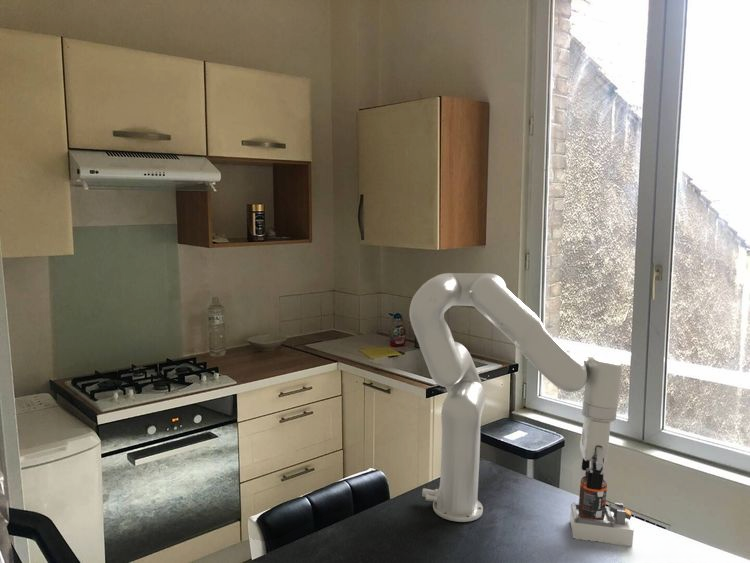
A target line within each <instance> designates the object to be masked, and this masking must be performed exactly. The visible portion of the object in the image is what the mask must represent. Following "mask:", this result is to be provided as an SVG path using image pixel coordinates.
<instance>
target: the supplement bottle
mask: <svg viewBox="0 0 750 563" xmlns="http://www.w3.org/2000/svg"><path fill="white" fill-rule="evenodd" d="M588 471H590V468H587V469H586V471H585V473H584V475H583V477H582V478H581V479H580V486H579V487H580V488H579V499H578V503H579V514H580V516H581V517H583V518H588V519H595V520H602V519H604V515H605V506H606V502H607V491H608V489H607V488H608V484H607V483H608V482H607V481H606V480H605V479H604V478H603V479H602V487H601V490H595V489H588V488H587V486H586V485H587V477H588ZM603 476H605V475H604V472H603Z"/></svg>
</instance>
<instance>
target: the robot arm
mask: <svg viewBox="0 0 750 563" xmlns="http://www.w3.org/2000/svg"><path fill="white" fill-rule="evenodd" d="M452 306H455V307H456V306H462V307H467V306H468V307H469V306H470V307H474V308H475V309H476V310H477V311H478V312H479V313H480V314H481V315H482V316H484V317H485V318H486V319H487V320H488V321H489V322H491V324H492V325H493V326H494V327H496V328H497V329H498V330H499V331H501V333H502V334H503V335H505V337H507V338H508V340H510V341H511V342H512V343H513V344H514V346H515V347H516V349H518V351H520V352H521V354H522V355H523V356H524V357H525V358H526V360H528V361H529V363H530V364H531V365H532V366H533V367H534V368H535V369H536V370H537V371H538V372H539V373H540V374H542V375H543V377H545V378H546V379H547V380H548V381H549V382H550V383H551V384H552V385H553V386H555V387H556V388H558V389H559V390H561V391H563V392H566V393H576V392H578V391H581V390H582V389H583V388H584V392H583V400H582V408H581V409H582V410H581V415H582V416H583V424H582V430H581V435H580V442H579V448H580V449H579V450H580V453H581V456H582V462H581V470H582V471H584V472H586V469H587V468H590V471H588V477H587V485H586V486H587V488H588V489H595V490H601V487H602V479H604V475H603V473H604V464H605V463H606V462H607V458H608V451H609V444H610V434H611V433H610V432H611V424H612V423H613V422H615V421H616V420H617V414H618V413H617V412H618V403H619V396H620V388H621V383H622V382H621V380H622V373H623V366H622V363H621V362H620V361H619V360H617V359H616V358H612V357H607V356H593V355H589V354H585V353H581V352H578V351H573V350H565V349H564V348H563V347H561V346H560V345H559V344H558V343H557V342H556V340H554V339H553V337H552V336H551V335H550V333H549V332H548V331H547V330H546V328H545V325H544V324H543V322H542V321H541V319H540V318H539V317H538V315H537V314H536V313H535V312H534V311H533V310H531V308H529V307H528V306H527V305H526V304H525V303H524V302H522V300H520V299H519V298H518V297H517V296H516V295H515V294H514V293H512V291H510V290H509V289H508V288H507V285H506V282H505V280H504V279H503V278H502V277H501V276H499V275H498V274H495V273H489V272H488V273H487V272H485V273H484V272H483V273H481V272H480V273H478V272H477V273H475V272H474V273H469V272H468V273H464V272H463V273H461V272H459V273H458V272H457V273H456V272H455V273H453V272H447V273H446V272H445V273H441V274H437V275H436V276H434V277H432V278H430V279H428V280H427V281H426V282H425V283H423V284H422V285H421V286H420V288H419V289H417V291H416V292H415V293H414V295H413V297H412V299H411V302H410V305H409V311H408V312H409V321H410V325H411V329H412V330H413V332H414V335H415V338H416V341H417V342H418V345H419V349H420V351H421V354H422V356H423V359H424V361H425V364H426V366H427V367H426V368H427V370H428V372H429V375H430V377H431V378H432V380H433V381H434V383H435V384H437V385H438V386H440V387H443V388H445V389H446V392H447V394H446V396H445V398H444V400H443V402H442V406H441V413H440V419H441V448H440V449H441V455H440V456H441V457H440V476H439V478H440V479H439V488H435V489H429V488H422V492H421V494H422V495H421V496H422V497H425V501H429V502H430V501H431V502H433V503H432V508H433V511H434V512H435V514H436V515H437V516H439V517H441V518H442V519H445V520H448V521H452V522H458V523H467V522H468V523H469V522H472V521H475V520H478V519H479V518H481V517H482V516H483V513H484V506H483V504H482V503H481V502H480V501H479V500H478V494H479V493H478V492H479V475H480V473H479V472H480V454H481V452H480V451H481V448H480V447H481V422H482V413H483V410H484V407H485V404H486V400H487V399H486V398H487V397H486V396H487V395H486V392H485V388H484V386H483V383H482V379H481V378H480V376H479V373H478V370H477V367H476V365H475V363H474V360H473V357H472V356H471V353H470V352H469V350H468V348H466V347H465V345H463V344H462V343H460V342H458V341H455V340H454V337H453V335H452V331H451V329H450V327H449V325H448V323H447V321H446V320H445V313H446V312H447V310H449V309H450V308H452Z"/></svg>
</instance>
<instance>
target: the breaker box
mask: <svg viewBox="0 0 750 563" xmlns="http://www.w3.org/2000/svg"><path fill="white" fill-rule="evenodd" d="M613 504H614V505H616V506H618V507H621V508H623V509H624V504H623V503H621V502H614V503H613ZM625 516H626V511H624V510H617V514H616V513H613V512H611V511H610V510H609V507H608V506H606V505H605V515H604V519H602V520H595V519H588V518H583V517H581V516H580V514H579V502H571V504H570V517H569V523H571V524H570V527H571V528H570V529H571V533H572V538H576V539H575V540H580V539H582V540H583V541H588V540H590V542H595V541H598V542H597V543H603V542H604V543H605V544H609V545H611V544H612V545H619V546H626V547H633V544H634V543H633V541H634V531H635V530H634V528H633V525H632V523H631V519H630V520H629V519H627V518H625ZM582 540H581V541H582Z"/></svg>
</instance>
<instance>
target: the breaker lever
mask: <svg viewBox="0 0 750 563" xmlns="http://www.w3.org/2000/svg"><path fill="white" fill-rule="evenodd" d="M614 504H615V503H611V502H609V504H608V506H607V507H609V510H610V511H611V512H613V513H616V514H617V510H624V511H626V516H625V518H627V519H629V520H630V521H631V518H632V513H631V511H630V510H629V509H628V508H624V507H623V508H621V507H618V506H616V505H614Z"/></svg>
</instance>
